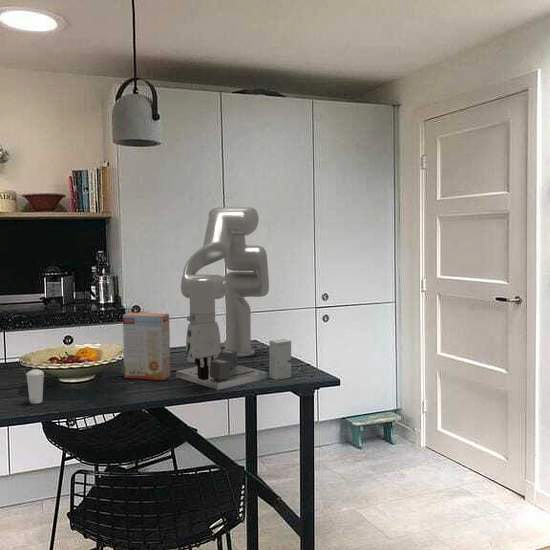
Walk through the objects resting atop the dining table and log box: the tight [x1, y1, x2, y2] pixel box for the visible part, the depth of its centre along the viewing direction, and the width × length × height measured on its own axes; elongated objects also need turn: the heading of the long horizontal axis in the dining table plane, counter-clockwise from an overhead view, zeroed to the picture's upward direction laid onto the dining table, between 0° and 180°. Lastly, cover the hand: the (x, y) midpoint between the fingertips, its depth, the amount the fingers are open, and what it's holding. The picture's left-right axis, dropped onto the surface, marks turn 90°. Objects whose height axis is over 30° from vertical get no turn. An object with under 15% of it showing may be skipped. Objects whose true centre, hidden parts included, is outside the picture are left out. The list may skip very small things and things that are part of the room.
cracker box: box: [122, 312, 171, 381], centre depth 199 cm, size 14×6×21 cm, turn 72°
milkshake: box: [23, 368, 45, 405], centre depth 171 cm, size 4×5×10 cm
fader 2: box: [210, 358, 230, 380], centre depth 189 cm, size 5×4×5 cm
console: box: [175, 364, 268, 391], centre depth 199 cm, size 22×20×2 cm
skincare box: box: [268, 338, 292, 381], centre depth 198 cm, size 6×4×12 cm
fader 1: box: [217, 349, 238, 368], centre depth 204 cm, size 5×4×5 cm
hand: (203, 378), depth 185 cm, fingers closed
